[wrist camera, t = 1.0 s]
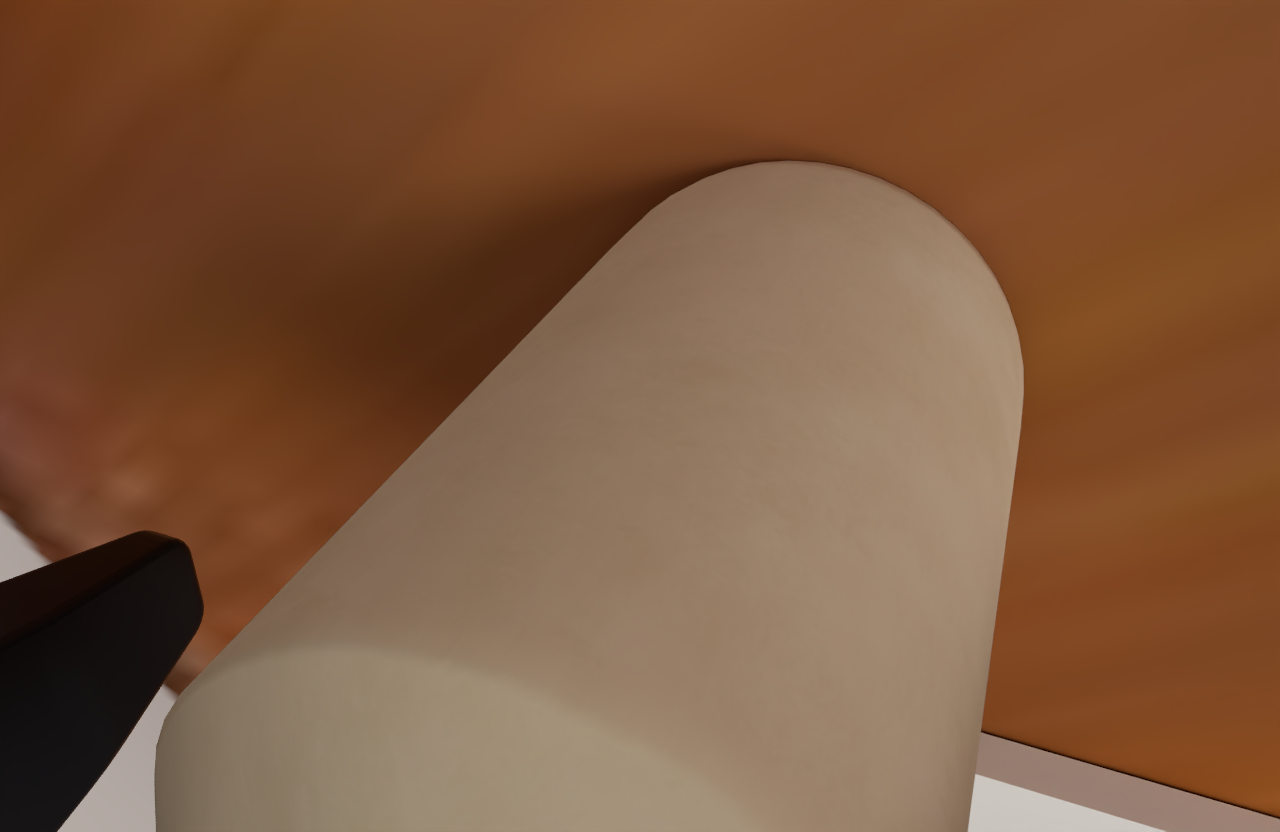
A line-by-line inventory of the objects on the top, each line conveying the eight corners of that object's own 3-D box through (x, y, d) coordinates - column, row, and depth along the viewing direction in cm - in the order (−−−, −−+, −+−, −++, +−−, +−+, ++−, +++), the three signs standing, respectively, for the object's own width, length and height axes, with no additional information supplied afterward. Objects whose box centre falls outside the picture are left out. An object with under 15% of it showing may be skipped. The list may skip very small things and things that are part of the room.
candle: (846, 602, 16) (571, 1501, 8) (536, 377, 15) (-66, 1054, 8) (1133, 345, 12) (1174, 1479, 4) (741, 56, 12) (41, 672, 4)
